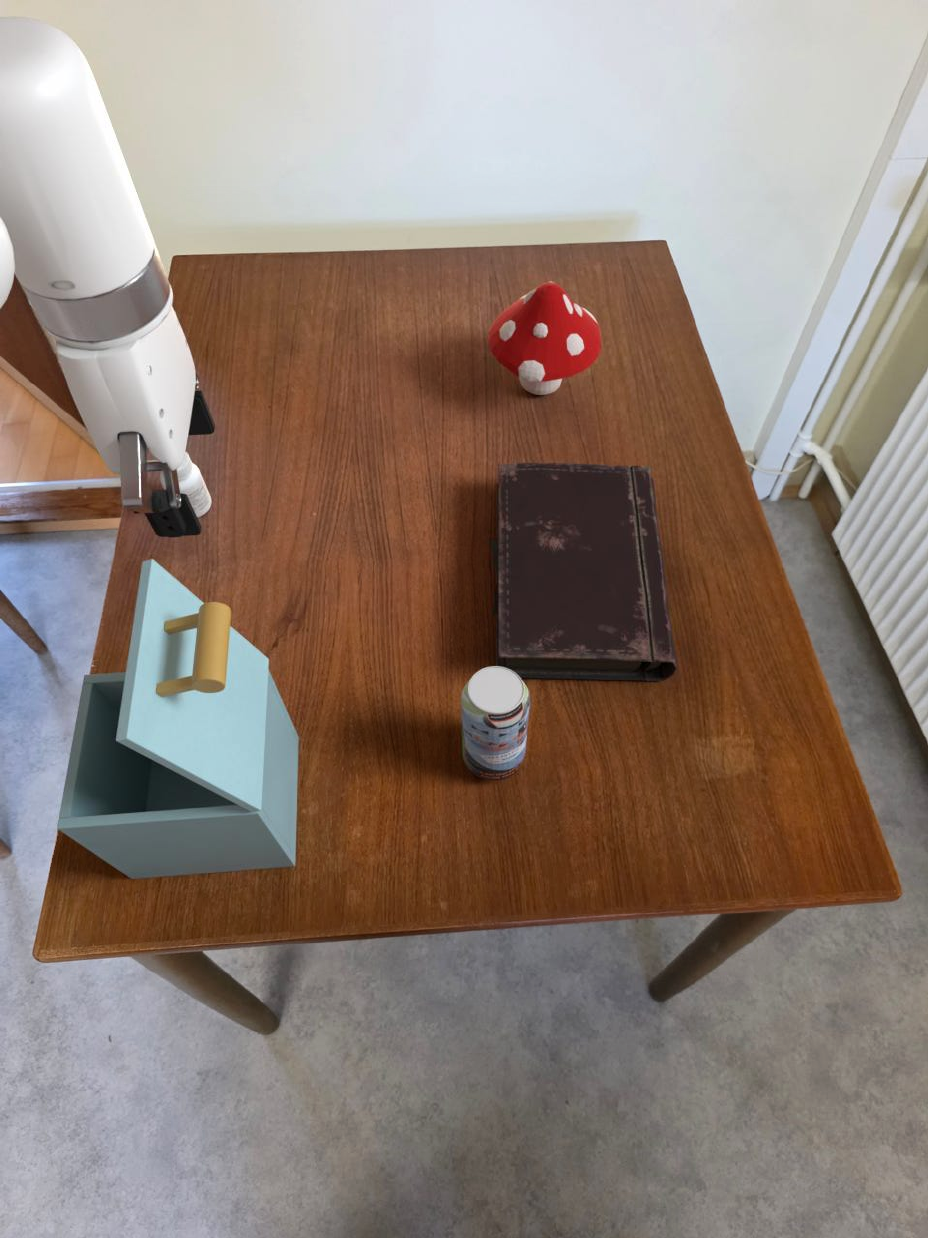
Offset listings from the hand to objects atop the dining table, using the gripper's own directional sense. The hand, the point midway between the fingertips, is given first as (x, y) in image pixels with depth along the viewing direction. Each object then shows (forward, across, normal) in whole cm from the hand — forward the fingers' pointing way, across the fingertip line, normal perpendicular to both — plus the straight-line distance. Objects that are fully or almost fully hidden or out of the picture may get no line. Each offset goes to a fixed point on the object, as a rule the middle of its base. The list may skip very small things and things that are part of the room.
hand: (188, 480), depth 61 cm
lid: (+4, +16, +2) cm, 16 cm away
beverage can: (+28, +12, +23) cm, 38 cm away
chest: (+27, +16, -3) cm, 32 cm away
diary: (+28, -7, +33) cm, 44 cm away
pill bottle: (+28, -20, -10) cm, 35 cm away
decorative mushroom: (+28, -37, +33) cm, 57 cm away
